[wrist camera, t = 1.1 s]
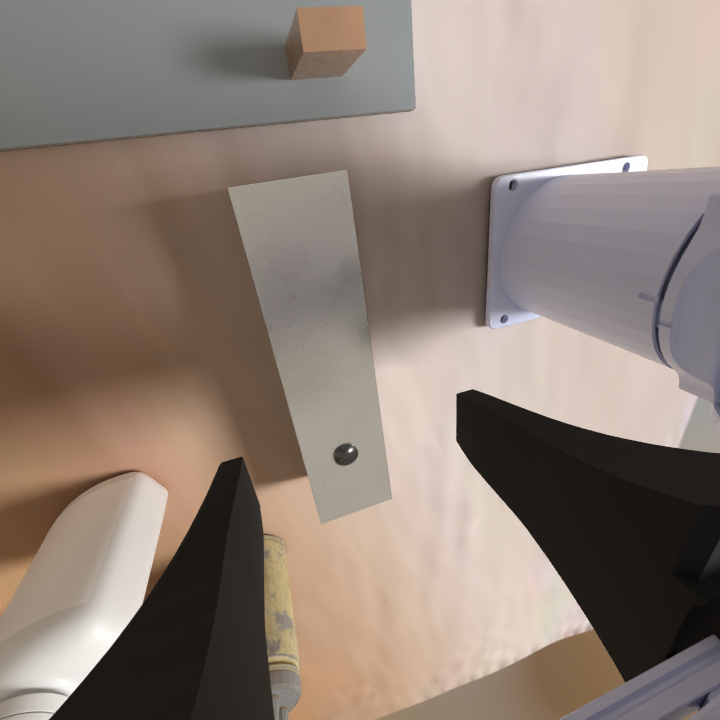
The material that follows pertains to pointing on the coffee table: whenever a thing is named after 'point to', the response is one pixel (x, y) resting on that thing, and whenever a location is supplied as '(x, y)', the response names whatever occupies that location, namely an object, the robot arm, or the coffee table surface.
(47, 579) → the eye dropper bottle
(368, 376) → the silver long block
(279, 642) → the lighter
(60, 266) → the coffee table surface
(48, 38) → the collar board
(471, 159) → the coffee table surface
